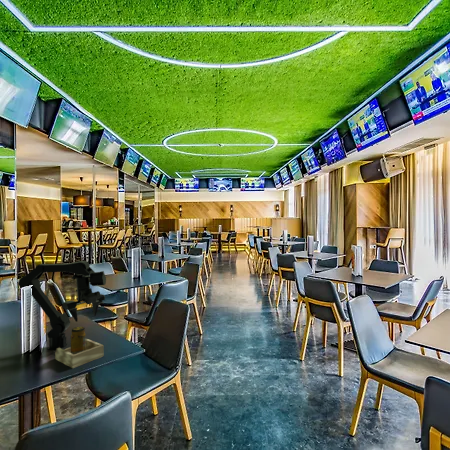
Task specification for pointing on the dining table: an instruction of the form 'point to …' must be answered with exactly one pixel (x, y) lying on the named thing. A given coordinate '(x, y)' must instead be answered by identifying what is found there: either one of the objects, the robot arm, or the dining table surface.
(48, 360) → the dining table surface
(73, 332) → the condiment
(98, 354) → the tan square tray
